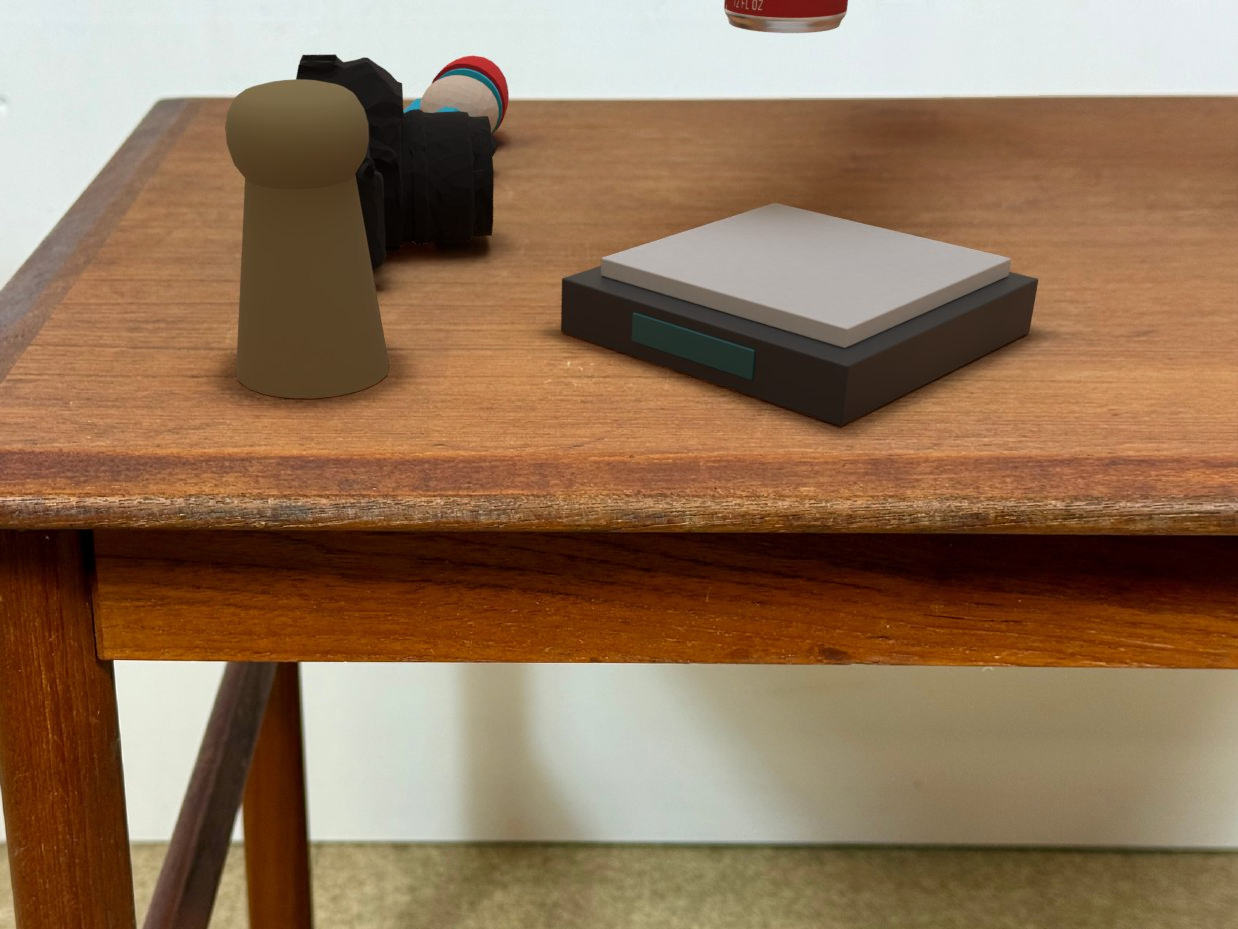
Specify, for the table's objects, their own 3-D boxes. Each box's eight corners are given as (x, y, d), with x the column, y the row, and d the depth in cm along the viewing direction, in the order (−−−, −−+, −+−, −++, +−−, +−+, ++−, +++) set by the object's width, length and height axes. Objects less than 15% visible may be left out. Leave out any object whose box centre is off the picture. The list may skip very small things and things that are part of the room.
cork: (260, 408, 56) (234, 107, 50) (218, 355, 61) (191, 75, 55) (411, 383, 58) (402, 92, 53) (360, 334, 63) (346, 63, 58)
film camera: (501, 295, 67) (500, 90, 63) (284, 300, 67) (269, 93, 62) (483, 204, 81) (482, 30, 76) (302, 207, 80) (291, 32, 76)
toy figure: (487, 214, 84) (542, 112, 96) (475, 130, 81) (534, 35, 93) (360, 215, 86) (430, 115, 98) (344, 133, 83) (418, 40, 95)
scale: (760, 261, 72) (765, 195, 70) (1030, 333, 63) (1043, 259, 61) (558, 333, 63) (559, 259, 61) (839, 428, 54) (849, 344, 53)
